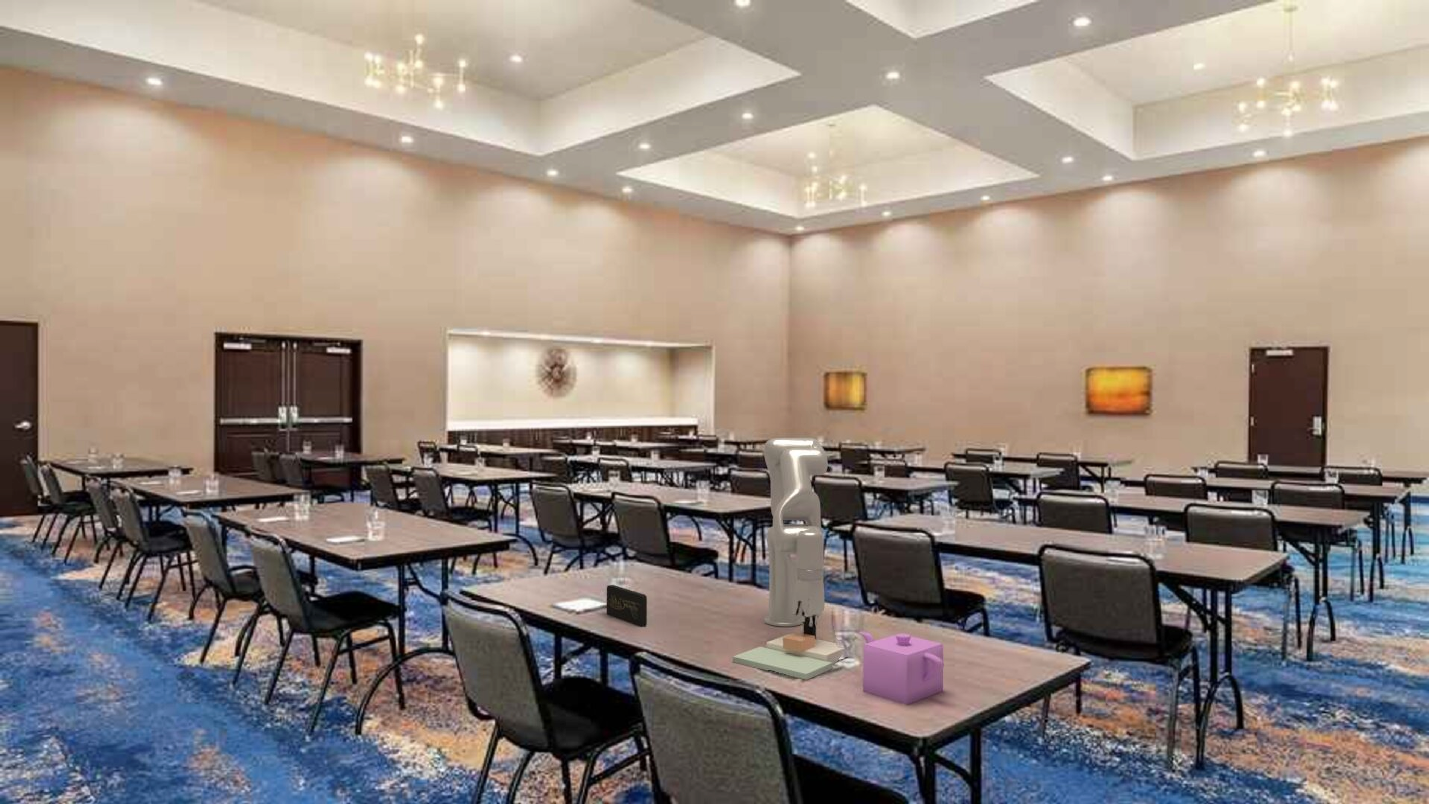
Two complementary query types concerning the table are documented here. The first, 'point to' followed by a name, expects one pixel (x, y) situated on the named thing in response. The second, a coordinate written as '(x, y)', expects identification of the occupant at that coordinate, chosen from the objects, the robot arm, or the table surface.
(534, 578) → the table surface
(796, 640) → the terracotta tile
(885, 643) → the teapot
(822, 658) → the plate
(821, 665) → the sage mat
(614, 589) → the nameplate
